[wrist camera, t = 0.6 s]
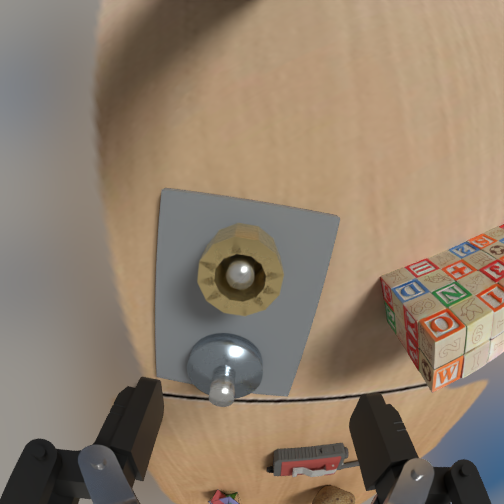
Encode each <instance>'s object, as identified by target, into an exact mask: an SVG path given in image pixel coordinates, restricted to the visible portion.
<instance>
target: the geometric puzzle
mask: <svg viewBox="0 0 504 504" xmlns="http://www.w3.org/2000/svg"><path fill="white" fill-rule="evenodd" d="M223 491H224V490H223ZM230 492H231V491H230ZM224 494H225V493H224ZM224 494H223V492H222V493H221V492H220V490H218V489H217V491H216V493H215V495H214V496H213V498H212V497H211V498H212V500H211V501H208V502H209V503H210V504H239V503H238V502H237V501H235V500H234V498H235V496H236V494H237V495H238V492H237V493H233V494H230V495H227V494H226V496H225V495H224ZM239 498H240V497H239ZM238 501H239V500H238Z"/></svg>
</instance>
